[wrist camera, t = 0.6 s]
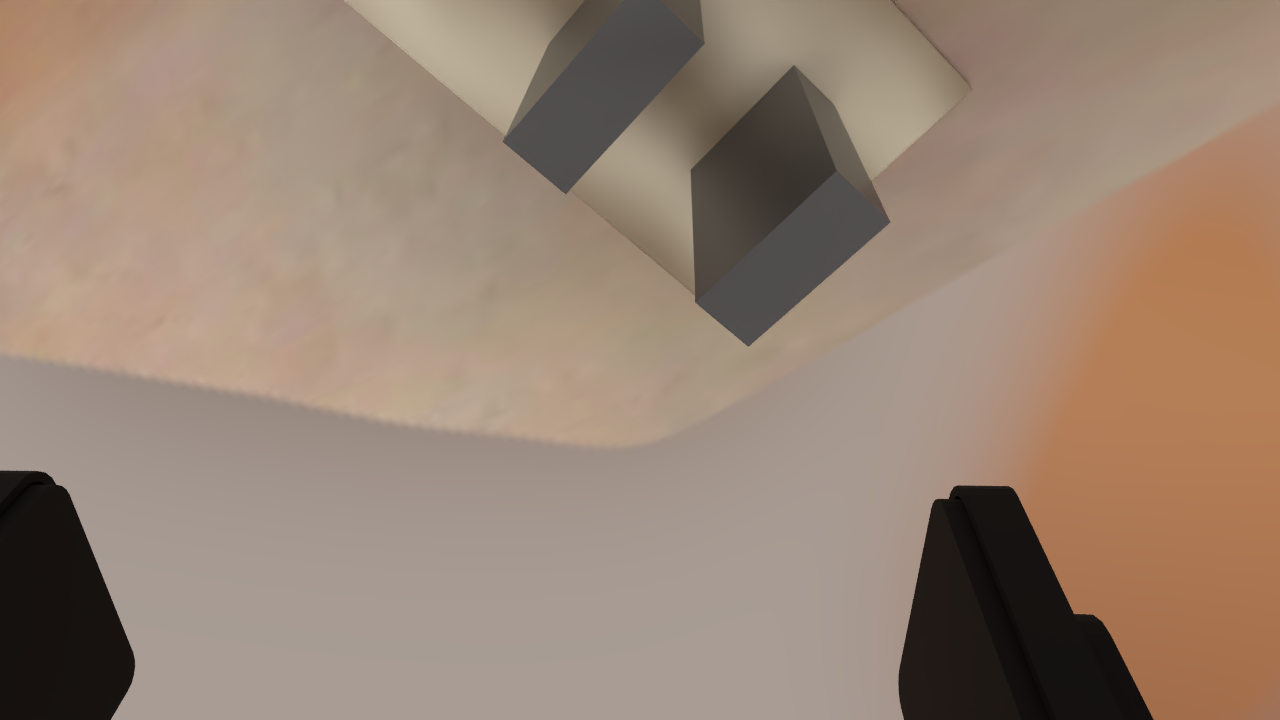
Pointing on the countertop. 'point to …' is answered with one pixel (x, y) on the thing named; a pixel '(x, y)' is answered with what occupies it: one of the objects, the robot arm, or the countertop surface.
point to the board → (691, 90)
